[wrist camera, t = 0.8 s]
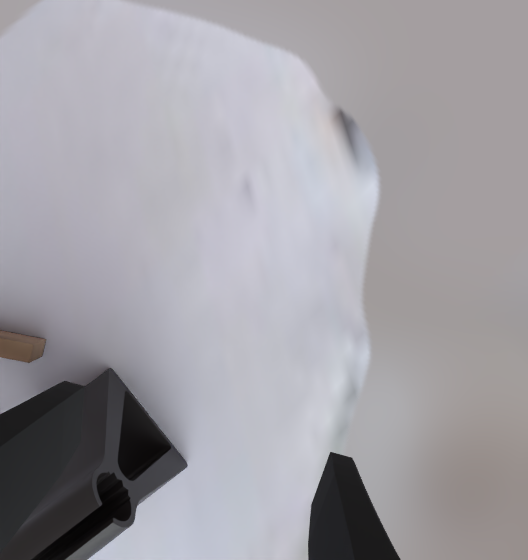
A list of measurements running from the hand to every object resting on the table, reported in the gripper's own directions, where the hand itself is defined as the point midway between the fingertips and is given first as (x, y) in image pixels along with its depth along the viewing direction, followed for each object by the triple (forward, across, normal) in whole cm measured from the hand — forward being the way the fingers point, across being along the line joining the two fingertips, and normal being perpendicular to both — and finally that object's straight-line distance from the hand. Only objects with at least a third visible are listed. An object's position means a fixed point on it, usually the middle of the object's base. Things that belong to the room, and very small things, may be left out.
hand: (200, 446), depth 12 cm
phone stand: (+13, +8, +14) cm, 21 cm away
